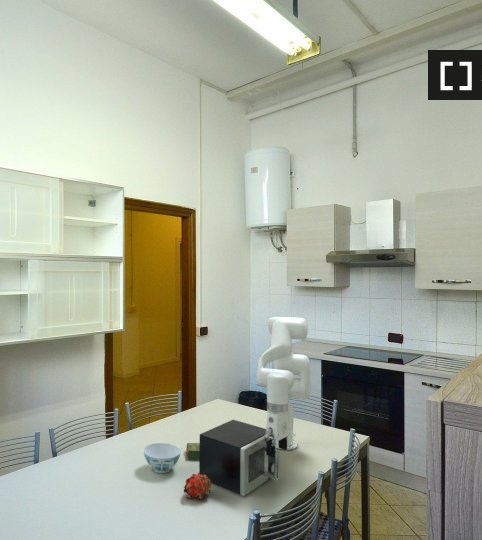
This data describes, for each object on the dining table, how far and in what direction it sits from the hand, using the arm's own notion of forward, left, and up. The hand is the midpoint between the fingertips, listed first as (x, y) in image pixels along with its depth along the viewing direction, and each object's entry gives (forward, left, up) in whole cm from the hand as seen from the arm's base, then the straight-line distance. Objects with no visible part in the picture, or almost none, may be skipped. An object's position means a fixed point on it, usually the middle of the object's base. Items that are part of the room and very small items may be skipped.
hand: (276, 452), depth 162 cm
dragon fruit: (+28, -16, -13) cm, 35 cm away
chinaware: (+21, -39, -13) cm, 46 cm away
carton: (-2, -34, -13) cm, 36 cm away
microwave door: (+7, -2, -12) cm, 14 cm away
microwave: (+4, -14, -12) cm, 19 cm away
